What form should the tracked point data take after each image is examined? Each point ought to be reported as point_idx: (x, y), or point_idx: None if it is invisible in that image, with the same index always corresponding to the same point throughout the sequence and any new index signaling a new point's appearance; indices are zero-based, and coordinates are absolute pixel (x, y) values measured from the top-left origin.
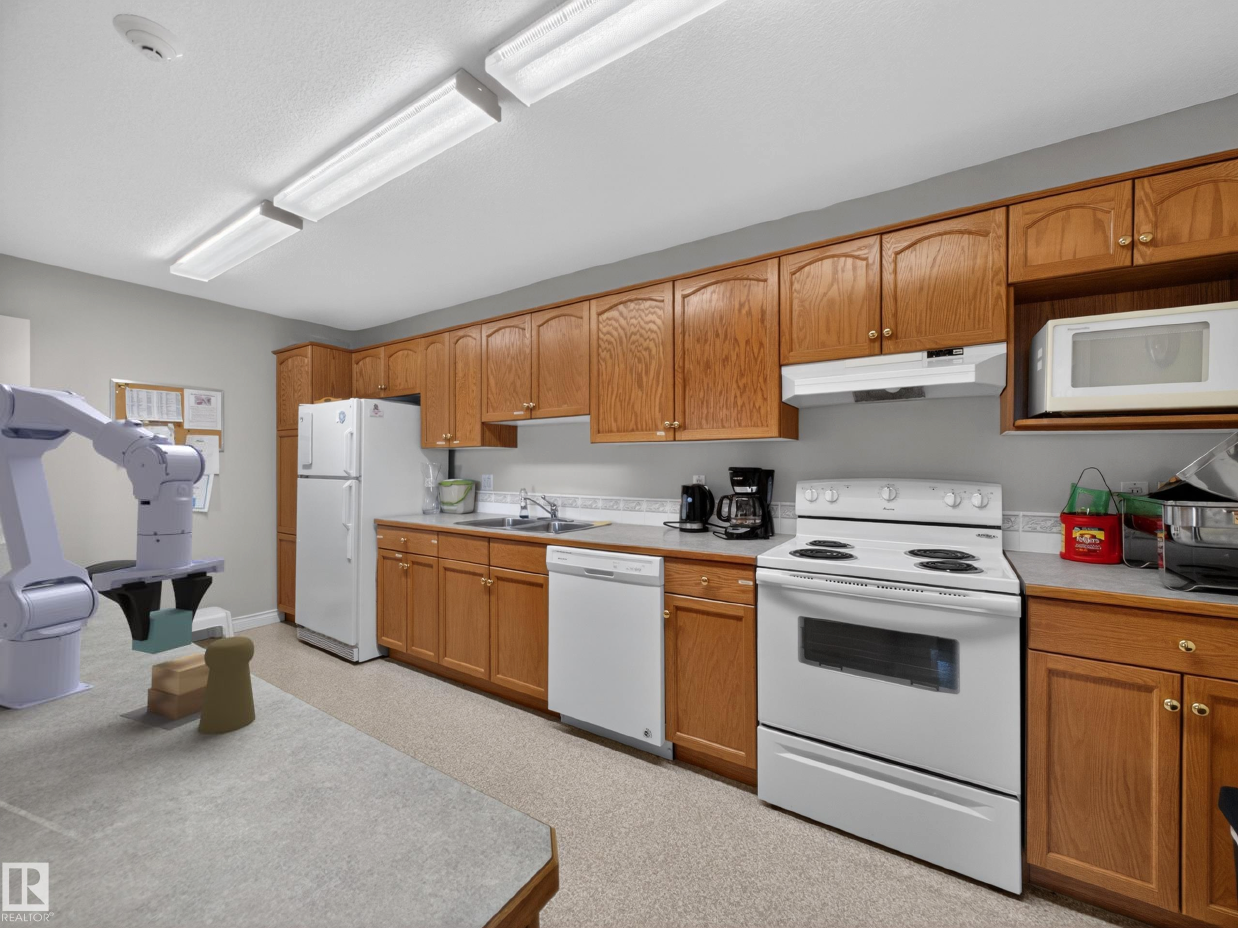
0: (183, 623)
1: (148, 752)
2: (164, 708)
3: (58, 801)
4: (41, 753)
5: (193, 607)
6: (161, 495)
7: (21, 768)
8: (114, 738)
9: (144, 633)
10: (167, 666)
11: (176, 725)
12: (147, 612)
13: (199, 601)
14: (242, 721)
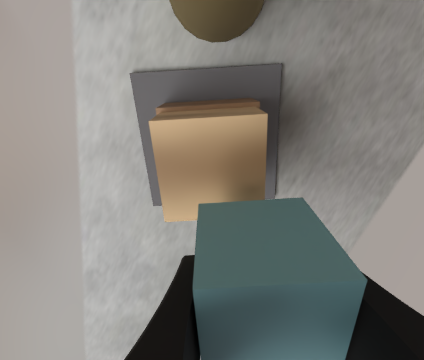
0: (229, 250)
1: (342, 9)
2: None
3: None
4: (379, 164)
5: (173, 321)
6: None
7: (418, 136)
8: (320, 127)
9: None
10: (254, 181)
11: (265, 71)
12: (406, 330)
13: (139, 347)
14: None
